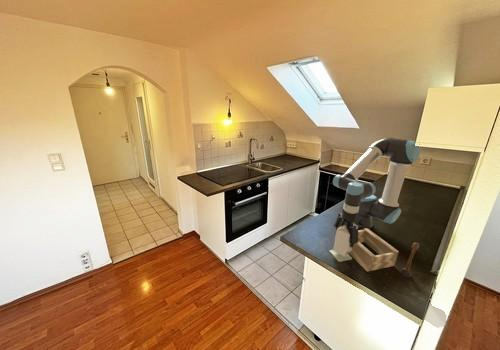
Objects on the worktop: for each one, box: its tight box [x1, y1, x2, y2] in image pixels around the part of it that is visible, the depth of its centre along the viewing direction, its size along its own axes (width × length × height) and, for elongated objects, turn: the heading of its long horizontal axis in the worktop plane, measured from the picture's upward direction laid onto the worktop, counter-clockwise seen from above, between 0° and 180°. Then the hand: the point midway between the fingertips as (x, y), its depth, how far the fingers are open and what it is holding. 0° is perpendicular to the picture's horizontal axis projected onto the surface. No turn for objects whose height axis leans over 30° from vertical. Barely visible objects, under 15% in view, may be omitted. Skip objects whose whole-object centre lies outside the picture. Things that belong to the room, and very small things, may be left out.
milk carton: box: [332, 225, 351, 257], centre depth 117 cm, size 7×7×19 cm
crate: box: [348, 228, 400, 272], centre depth 120 cm, size 18×22×10 cm
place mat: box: [328, 249, 353, 263], centre depth 121 cm, size 9×9×1 cm
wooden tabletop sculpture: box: [399, 242, 420, 279], centre depth 106 cm, size 6×5×20 cm
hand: (342, 244), depth 119 cm, fingers closed on milk carton, 10 cm apart
